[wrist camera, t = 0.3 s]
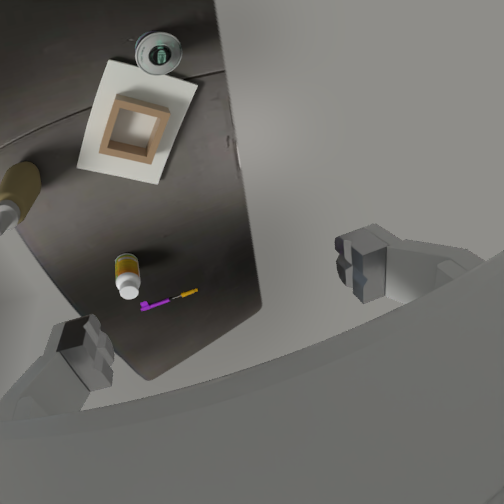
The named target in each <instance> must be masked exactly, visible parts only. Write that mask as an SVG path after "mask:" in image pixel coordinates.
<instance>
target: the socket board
mask: <svg viewBox="0 0 504 504" xmlns="http://www.w3.org/2000/svg"><path fill="white" fill-rule="evenodd" d="M197 87H198V85H197V84H195V83H192V82H189V81H186V80H183V79H179V78H176V77H173V76H170V75H167V74H165V75H160V76H154V75H149V74H147V73H145V72H143V71H142V70H141V69H140V68H139V66H135V65H132V64H128V63H124V62H120V61H116V60H112V59H109V60H108V63H107V66H106V68H105V71H104V74H103V77H102V79H101V82H100V85H99V88H98V91H97V94H96V97H95V100H94V104H93V107H92V110H91V114H90V117H89V120H88V124H87V128H86V131H85V135H84V139H83V143H82V147H81V151H80V155H79V159H78V164H77V168H79V169H85V170H90V171H95V172H100V173H105V174H110V175H115V176H120V177H125V178H129V179H134V180H139V181H143V182H148V183H153V184H157V185H158V182H159V179H160V177H161V174H162V171H163V169H164V166H165V163H166V161H167V158H168V155H169V153H170V150H171V148H172V145H173V143H174V140H175V138H176V135H177V133H178V130H179V128H180V126H181V123H182V121H183V119H184V116H185V114H186V112H187V109H188V107H189V105H190V102H191V100H192V98H193V96H194V93H195V91H196V89H197Z"/></svg>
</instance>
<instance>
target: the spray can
mask: <svg viewBox="0 0 504 504" xmlns="http://www.w3.org/2000/svg"><path fill="white" fill-rule="evenodd" d="M135 57H136V62H137V65H138V66H139V68H140V69H141V70H142V71H143V72H145V73H147V74H149V75H154V76H160V75H165V74H167V73H169V72H171V71H173V70H174V69H175V68H176V67H177V66H178V64H179V63H180V61H181V58H182V46H181V44H180V42H179V40H178V39H177V38H176V37H175V36H173V35H171V34H169V33H165V32H159V31H149V32H146V33H144V34H143V35H141V36H140V37H139V39H138V40H137V42H136V45H135Z"/></svg>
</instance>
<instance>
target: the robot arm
mask: <svg viewBox="0 0 504 504" xmlns="http://www.w3.org/2000/svg"><path fill="white" fill-rule="evenodd" d="M335 250H336V251H337V252H338V253H339V256H338V258H337V261H336V264H337V271H338V274H339V277H340V279H341V280H342V282H343V283H344V284H345V285H346V286H347V287H351V288H353V294H354V295H355V296H356V297H357V298H358V299H359V300H360V301H361V302H362V303H363V304H365V303H368V302H370V301H373V300H375V299H378V298H380V297H383V296H386V297H388V298H390V299H393V300H396V301H398V302H401V303H404V304H405V305H403V306H401V307H399V308H397V309H395V310H393V311H390V312H388V313H386V314H384V315H382V316H380V317H377V318H375V319H373V320H371V321H369V322H366V323H364V324H362V325H360V326H357V327H355V328H352V329H350V330H348V331H346V332H343V333H341V334H338V335H336V336H333V337H331V338H329V339H326V340H324V341H321V342H319V343H316V344H314V345H311V346H308V347H306V348H303V349H301V350H298V351H295V352H293V353H290V354H287V355H284V356H282V357H279V358H276V359H273V360H271V361H268V362H265V363H262V364H259V365H256V366H253V367H250V368H247V369H244V370H241V371H238V372H235V373H232V374H229V375H225V376H222V377H219V378H216V379H212V380H209V381H206V382H202V383H199V384H195V385H192V386H188V387H184V388H181V389H177V390H173V391H170V392H166V393H162V394H158V395H154V396H150V397H146V398H141V399H137V400H133V401H128V402H124V403H119V404H114V405H109V406H104V407H99V408H94V409H89V410H83V411H80V410H81V408H82V407H83V405H84V403H85V401H86V399H87V398H88V396H89V394H90V392H91V391H95V390H99V389H103V388H107V387H111V386H112V377H113V370H112V369H111V367H110V366H111V365H112V363H113V362H114V350H113V346H112V343H111V341H110V339H109V337H108V336H107V334H105V333H103V332H102V331H100V325H101V324H100V322H99V321H98V319H97V317H96V316H95V315H93V314H91V315H87V316H84V317H80V318H76V319H73V320H69V321H65V322H62V323H59V324H57V325H54V326H53V329H52V332H51V334H50V337H49V340H48V343H47V346H46V348H45V351H44V355H43V356H40V357H39V358H38V359H37V360H36V361H35V362H34V363H33V364H32V365H31V366H30V367H29V369H28V370H27V371H26V372H25V373H24V374H23V375H22V376H21V377H20V378H19V379H18V380H17V382H16V383H15V384H14V385H13V386H12V387H11V388H10V389H9V391H7V393H6V394H5V395H4V396H3V397H2V398H1V400H0V504H504V251H502V252H500V253H499V254H497V255H495V256H494V257H492V258H491V259H489V260H487V261H484V260H483V259H481V258H480V257H478V256H477V255H475V254H473V253H472V252H470V251H468V250H467V249H463V248H457V247H451V246H444V245H438V244H432V243H426V242H419V241H413V240H407V239H406V240H403V241H402V240H401V239H399V238H398V237H396V236H395V235H393V234H392V233H390V232H388V231H387V230H385V229H383V228H382V227H381V226H379V225H377V224H371V225H368V226H366V227H363V228H360V229H357V230H355V231H352V232H349V233H346V234H344V235H341V236H338V237H336V238H335Z"/></svg>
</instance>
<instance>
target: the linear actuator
mask: <svg viewBox="0 0 504 504" xmlns="http://www.w3.org/2000/svg"><path fill="white" fill-rule="evenodd" d="M196 291H198V289H193V290H190V291H187V292H183V293H181V295H180V296H182V297H185V296H187V295H189V294H192V293H195V292H196ZM177 297H179V296H177ZM177 297H174V298H177ZM174 298H172V297H170V298H167V299H164V300H161V301H158V302H156V303H153V304H150V305H149V304H148V303H147V301H145V302H142V303H140V304H141V306H142V307H141V311H145V310H148V309H151V308H153V307H156V306H158V305H161V304H164V303H167V302H170V301H172V300H173V299H174Z"/></svg>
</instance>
